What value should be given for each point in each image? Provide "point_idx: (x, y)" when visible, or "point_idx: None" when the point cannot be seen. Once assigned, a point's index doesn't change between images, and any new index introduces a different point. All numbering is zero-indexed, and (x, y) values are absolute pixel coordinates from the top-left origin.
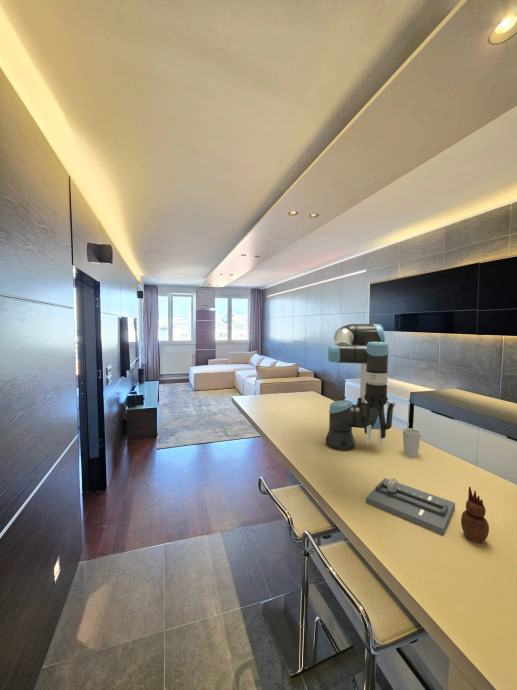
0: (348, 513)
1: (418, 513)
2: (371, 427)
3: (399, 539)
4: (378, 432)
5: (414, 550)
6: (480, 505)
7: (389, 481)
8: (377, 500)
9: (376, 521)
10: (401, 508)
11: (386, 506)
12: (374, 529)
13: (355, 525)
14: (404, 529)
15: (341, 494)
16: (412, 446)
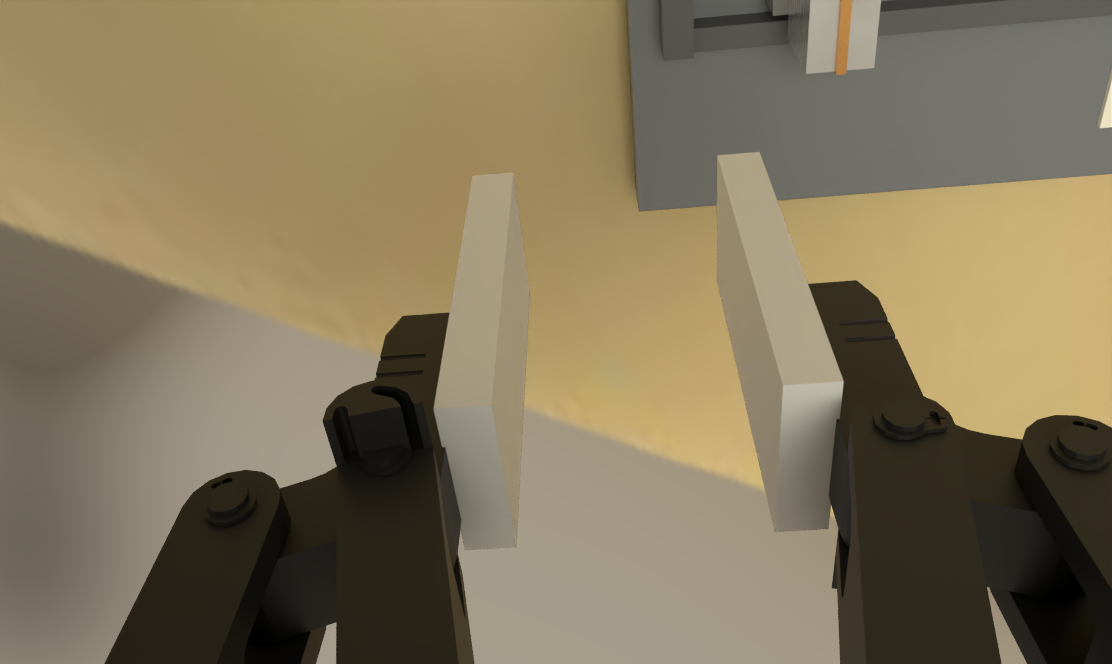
0: (607, 383)
1: (1099, 105)
2: (495, 366)
3: (974, 373)
4: (761, 472)
5: (1069, 393)
6: None
7: (817, 36)
8: None
9: None
10: (952, 141)
11: (827, 191)
12: None
13: (703, 441)
14: (988, 270)
15: (423, 232)
16: None
